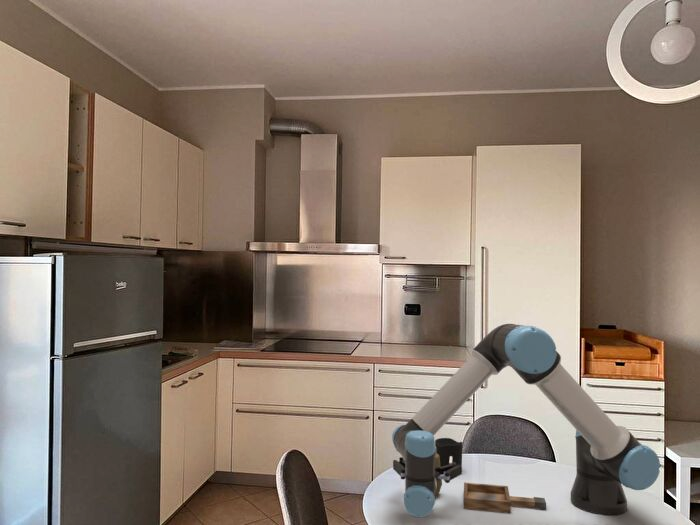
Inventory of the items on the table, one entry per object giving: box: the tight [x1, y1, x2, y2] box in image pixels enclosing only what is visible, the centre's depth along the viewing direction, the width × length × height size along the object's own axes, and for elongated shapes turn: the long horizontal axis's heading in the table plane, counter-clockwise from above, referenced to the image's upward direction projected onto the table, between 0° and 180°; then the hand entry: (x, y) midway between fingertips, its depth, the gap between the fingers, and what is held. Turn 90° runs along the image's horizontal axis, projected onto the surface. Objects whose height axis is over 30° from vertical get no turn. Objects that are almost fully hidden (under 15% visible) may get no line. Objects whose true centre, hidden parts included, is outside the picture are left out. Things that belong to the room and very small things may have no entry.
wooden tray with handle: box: [463, 481, 547, 514], centre depth 158 cm, size 23×13×3 cm, turn 77°
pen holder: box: [434, 437, 464, 467], centre depth 187 cm, size 9×9×10 cm
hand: (428, 459), depth 168 cm, fingers open, 13 cm apart
